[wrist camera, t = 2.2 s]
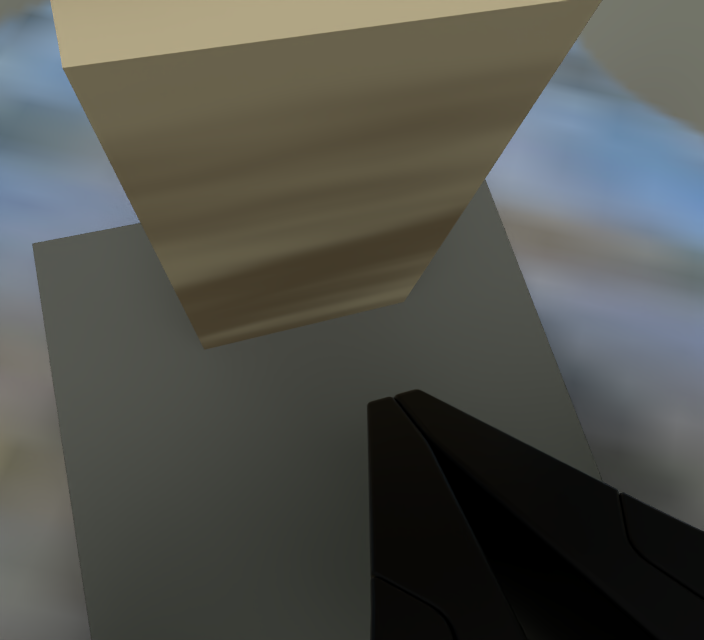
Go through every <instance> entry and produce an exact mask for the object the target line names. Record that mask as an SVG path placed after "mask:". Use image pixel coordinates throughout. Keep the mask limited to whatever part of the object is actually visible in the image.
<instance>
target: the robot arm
mask: <svg viewBox="0 0 704 640" xmlns="http://www.w3.org/2000/svg"><path fill="white" fill-rule="evenodd" d="M367 441H368V490H369V539H370V577H371V580H370V604H371V613H370V640H704V531H702V530H700V529H698V528H695V527H693V526H691V525H689V524H687V523H685V522H683V521H681V520H679V519H676V518H674V517H672V516H670V515H668V514H666V513H664V512H662V511H660V510H658V509H656V508H654V507H652V506H649V505H648V504H646V503H644V502H642V501H640V500H638V499H636V498H634V497H632V496H630V495H628V494H626V493H620V494H619V492H618V490H617V489H616V488H614V487H612V486H610V485H608V484H606V483H604V482H602V481H600V480H598V479H596V478H594V477H592V476H590V475H588V474H586V473H584V472H582V471H580V470H578V469H576V468H574V467H572V466H570V465H568V464H566V463H564V462H562V461H560V460H558V459H556V458H554V457H552V456H550V455H548V454H547V453H545V452H543V451H541V450H539V449H537V448H535V447H533V446H531V445H529V444H527V443H525V442H523V441H521V440H519V439H517V438H515V437H513V436H511V435H509V434H507V433H505V432H503V431H501V430H499V429H497V428H495V427H493V426H491V425H489V424H487V423H485V422H483V421H481V420H479V419H478V418H476V417H474V416H472V415H470V414H468V413H466V412H464V411H462V410H460V409H458V408H456V407H454V406H452V405H450V404H448V403H446V402H444V401H442V400H440V399H438V398H436V397H434V396H432V395H430V394H428V393H426V392H424V391H422V390H420V389H414V390H410V391H406V392H403V393H399V394H396V395H395V396H394V398H393V397H385V398H381V399H377V400H374V401H370V402H369V403H368V404H367Z"/></svg>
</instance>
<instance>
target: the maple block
mask: <svg viewBox="0 0 704 640" xmlns="http://www.w3.org/2000/svg"><path fill="white" fill-rule="evenodd" d="M50 1H51V6H52V12H53V17H54V23H55V28H56V34H57V39H58V45H59V50H60V56H61V61H62V67H63V70H64V72H65V74H66V75H67V77H68V79H69V81H70V83H71V85H72V87H73V89H74V91H75V93H76V95H77V97H78V99H79V101H80V103H81V105H82V107H83V109H84V111H85V113H86V115H87V117H88V119H89V121H90V123H91V125H92V127H93V129H94V131H95V133H96V135H97V137H98V139H99V141H100V143H101V145H102V147H103V149H104V151H105V153H106V155H107V157H108V159H109V161H110V163H111V165H112V167H113V169H114V171H115V173H116V175H117V177H118V179H119V181H120V183H121V185H122V187H123V189H124V191H125V193H126V195H127V197H128V199H129V201H130V203H131V205H132V207H133V209H134V211H135V213H136V215H137V217H138V219H139V221H140V223H141V225H142V227H143V229H144V231H145V233H146V235H147V237H148V239H149V241H150V243H151V245H152V247H153V249H154V251H155V253H156V255H157V257H158V258H159V260H160V262H161V264H162V266H163V268H164V270H165V272H166V274H167V276H168V278H169V280H170V282H171V284H172V286H173V288H174V290H175V292H176V294H177V296H178V298H179V300H180V302H181V304H182V306H183V308H184V310H185V312H186V314H187V316H188V318H189V320H190V322H191V324H192V326H193V328H194V330H195V332H196V334H197V336H198V338H199V340H200V342H201V344H202V346H203V348H204V350H205V349H209V348H213V347H218V346H222V345H226V344H230V343H234V342H239V341H243V340H247V339H251V338H255V337H259V336H264V335H268V334H272V333H276V332H280V331H284V330H289V329H293V328H297V327H301V326H305V325H309V324H314V323H318V322H322V321H326V320H330V319H334V318H339V317H343V316H347V315H351V314H355V313H359V312H364V311H368V310H372V309H376V308H380V307H385V306H389V305H393V304H397V303H401V302H404V301H405V299H406V298H407V296H408V295H409V293H410V292H411V290H412V289H413V287H414V286H415V284H416V283H417V281H418V280H419V278H420V277H421V275H422V274H423V272H424V270H425V269H426V267H427V266H428V264H429V263H430V261H431V260H432V258H433V257H434V255H435V254H436V252H437V251H438V249H439V248H440V246H441V245H442V243H443V242H444V240H445V239H446V237H447V236H448V234H449V233H450V231H451V229H452V228H453V226H454V225H455V223H456V222H457V220H458V219H459V217H460V216H461V214H462V213H463V211H464V210H465V208H466V207H467V205H468V204H469V202H470V201H471V199H472V198H473V196H474V195H475V193H476V192H477V190H478V188H479V187H480V185H481V184H482V182H483V181H484V179H485V178H486V176H487V175H488V173H489V172H490V170H491V169H492V167H493V166H494V164H495V163H496V161H497V160H498V158H499V157H500V155H501V154H502V152H503V151H504V149H505V147H506V146H507V144H508V143H509V141H510V140H511V138H512V137H513V135H514V134H515V132H516V131H517V129H518V128H519V126H520V125H521V123H522V122H523V120H524V119H525V117H526V116H527V114H528V113H529V111H530V110H531V108H532V106H533V105H534V103H535V102H536V100H537V99H538V97H539V96H540V94H541V93H542V91H543V90H544V88H545V87H546V85H547V84H548V82H549V81H550V79H551V78H552V76H553V75H554V73H555V72H556V70H557V68H558V67H559V65H560V64H561V62H562V61H563V59H564V58H565V56H566V55H567V53H568V52H569V50H570V49H571V47H572V46H573V44H574V43H575V41H576V40H577V38H578V37H579V35H580V34H581V32H582V30H583V29H584V27H585V26H586V24H587V23H588V21H589V20H590V18H591V17H592V15H593V14H594V12H595V11H596V9H597V8H598V6H599V4H600V3H601V2H602V0H50Z"/></svg>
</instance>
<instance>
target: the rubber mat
mask: <svg viewBox="0 0 704 640" xmlns="http://www.w3.org/2000/svg"><path fill="white" fill-rule="evenodd" d="M32 245H33V252H34V259H35V265H36V272H37V279H38V285H39V292H40V299H41V305H42V312H43V319H44V326H45V332H46V339H47V346H48V352H49V359H50V366H51V372H52V379H53V386H54V392H55V399H56V406H57V412H58V419H59V426H60V433H61V439H62V446H63V453H64V459H65V466H66V473H67V479H68V486H69V493H70V499H71V506H72V513H73V519H74V526H75V533H76V540H77V546H78V553H79V560H80V566H81V573H82V580H83V586H84V593H85V600H86V606H87V613H88V620H89V626H90V633H91V640H370V613H371V604H370V580H371V577H370V539H369V490H368V441H367V404H368V403H369V402H370V401H374V400H377V399H381V398H385V397H393V398H394V396H395V395H396V394H399V393H403V392H406V391H410V390H414V389H420V390H422V391H424V392H426V393H428V394H430V395H432V396H434V397H436V398H438V399H440V400H442V401H444V402H446V403H448V404H450V405H452V406H454V407H456V408H458V409H460V410H462V411H464V412H466V413H468V414H470V415H472V416H474V417H476V418H478V419H479V420H481V421H483V422H485V423H487V424H489V425H491V426H493V427H495V428H497V429H499V430H501V431H503V432H505V433H507V434H509V435H511V436H513V437H515V438H517V439H519V440H521V441H523V442H525V443H527V444H529V445H531V446H533V447H535V448H537V449H539V450H541V451H543V452H545V453H547V454H548V455H550V456H552V457H554V458H556V459H558V460H560V461H562V462H564V463H566V464H568V465H570V466H572V467H574V468H576V469H578V470H580V471H582V472H584V473H586V474H588V475H590V476H592V477H594V478H596V479H598V480H600V481H602V478H601V476H600V473H599V471H598V468H597V466H596V463H595V460H594V458H593V455H592V453H591V450H590V448H589V445H588V442H587V440H586V437H585V435H584V432H583V430H582V427H581V424H580V422H579V419H578V417H577V414H576V412H575V409H574V406H573V404H572V401H571V399H570V396H569V394H568V391H567V388H566V386H565V383H564V381H563V378H562V376H561V373H560V370H559V368H558V365H557V363H556V360H555V358H554V355H553V352H552V350H551V347H550V345H549V342H548V340H547V337H546V334H545V332H544V329H543V327H542V324H541V322H540V319H539V316H538V314H537V311H536V309H535V306H534V304H533V301H532V298H531V296H530V293H529V291H528V288H527V286H526V283H525V280H524V278H523V275H522V273H521V270H520V268H519V265H518V262H517V260H516V257H515V255H514V252H513V250H512V247H511V244H510V242H509V239H508V237H507V234H506V232H505V229H504V226H503V224H502V221H501V219H500V216H499V214H498V211H497V208H496V206H495V203H494V201H493V198H492V196H491V193H490V190H489V188H488V185H487V183H486V180H485V179H484V181H483V182H482V184H481V185H480V187H479V188H478V190H477V192H476V193H475V195H474V196H473V198H472V199H471V201H470V202H469V204H468V205H467V207H466V208H465V210H464V211H463V213H462V214H461V216H460V217H459V219H458V220H457V222H456V223H455V225H454V226H453V228H452V229H451V231H450V233H449V234H448V236H447V237H446V239H445V240H444V242H443V243H442V245H441V246H440V248H439V249H438V251H437V252H436V254H435V255H434V257H433V258H432V260H431V261H430V263H429V264H428V266H427V267H426V269H425V270H424V272H423V274H422V275H421V277H420V278H419V280H418V281H417V283H416V284H415V286H414V287H413V289H412V290H411V292H410V293H409V295H408V296H407V298H406V299H405V301H404V302H401V303H397V304H393V305H389V306H385V307H380V308H376V309H372V310H368V311H364V312H359V313H355V314H351V315H347V316H343V317H339V318H334V319H330V320H326V321H322V322H318V323H314V324H309V325H305V326H301V327H297V328H293V329H289V330H284V331H280V332H276V333H272V334H268V335H264V336H259V337H255V338H251V339H247V340H243V341H239V342H234V343H230V344H226V345H222V346H218V347H213V348H209V349H205V350H204V348H203V346H202V344H201V342H200V340H199V338H198V336H197V334H196V332H195V330H194V328H193V326H192V324H191V322H190V320H189V318H188V316H187V314H186V312H185V310H184V308H183V306H182V304H181V302H180V300H179V298H178V296H177V294H176V292H175V290H174V288H173V286H172V284H171V282H170V280H169V278H168V276H167V274H166V272H165V270H164V268H163V266H162V264H161V262H160V260H159V258H158V257H157V255H156V253H155V251H154V249H153V247H152V245H151V243H150V241H149V239H148V237H147V235H146V233H145V231H144V229H143V227H142V225H141V223H138V224H133V225H127V226H122V227H117V228H112V229H107V230H101V231H96V232H91V233H86V234H80V235H75V236H70V237H65V238H59V239H54V240H49V241H44V242H38V243H33V244H32ZM602 482H603V481H602Z"/></svg>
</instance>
